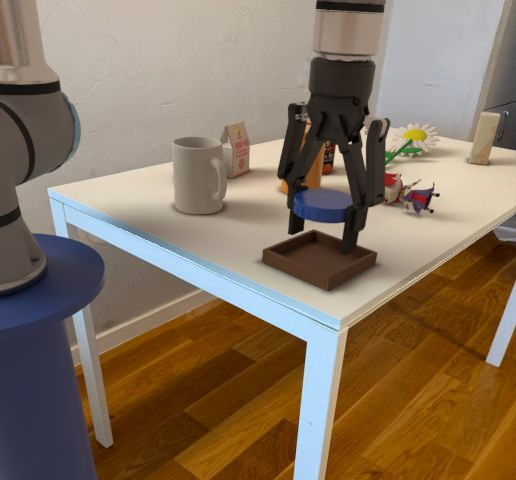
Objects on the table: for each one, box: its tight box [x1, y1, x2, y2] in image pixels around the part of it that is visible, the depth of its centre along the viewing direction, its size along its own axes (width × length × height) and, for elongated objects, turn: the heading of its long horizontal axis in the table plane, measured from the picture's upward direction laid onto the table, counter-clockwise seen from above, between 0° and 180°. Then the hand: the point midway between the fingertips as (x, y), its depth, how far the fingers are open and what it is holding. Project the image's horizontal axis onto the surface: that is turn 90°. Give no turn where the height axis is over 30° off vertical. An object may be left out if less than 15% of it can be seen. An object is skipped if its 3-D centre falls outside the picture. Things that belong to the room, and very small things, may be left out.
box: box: [468, 111, 502, 166], centre depth 122 cm, size 5×4×11 cm
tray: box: [261, 228, 379, 292], centre depth 72 cm, size 12×12×2 cm
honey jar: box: [280, 125, 325, 195], centre depth 97 cm, size 8×8×12 cm
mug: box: [171, 136, 228, 216], centre depth 86 cm, size 12×8×11 cm
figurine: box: [384, 172, 441, 216], centre depth 93 cm, size 6×8×15 cm
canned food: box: [306, 118, 337, 176], centre depth 110 cm, size 8×8×11 cm
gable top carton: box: [219, 120, 251, 179], centre depth 106 cm, size 4×7×10 cm, turn 149°
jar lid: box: [293, 188, 353, 225], centre depth 68 cm, size 9×9×2 cm
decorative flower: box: [385, 122, 441, 167], centre depth 124 cm, size 13×5×30 cm
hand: (321, 241), depth 71 cm, fingers closed on jar lid, 8 cm apart
